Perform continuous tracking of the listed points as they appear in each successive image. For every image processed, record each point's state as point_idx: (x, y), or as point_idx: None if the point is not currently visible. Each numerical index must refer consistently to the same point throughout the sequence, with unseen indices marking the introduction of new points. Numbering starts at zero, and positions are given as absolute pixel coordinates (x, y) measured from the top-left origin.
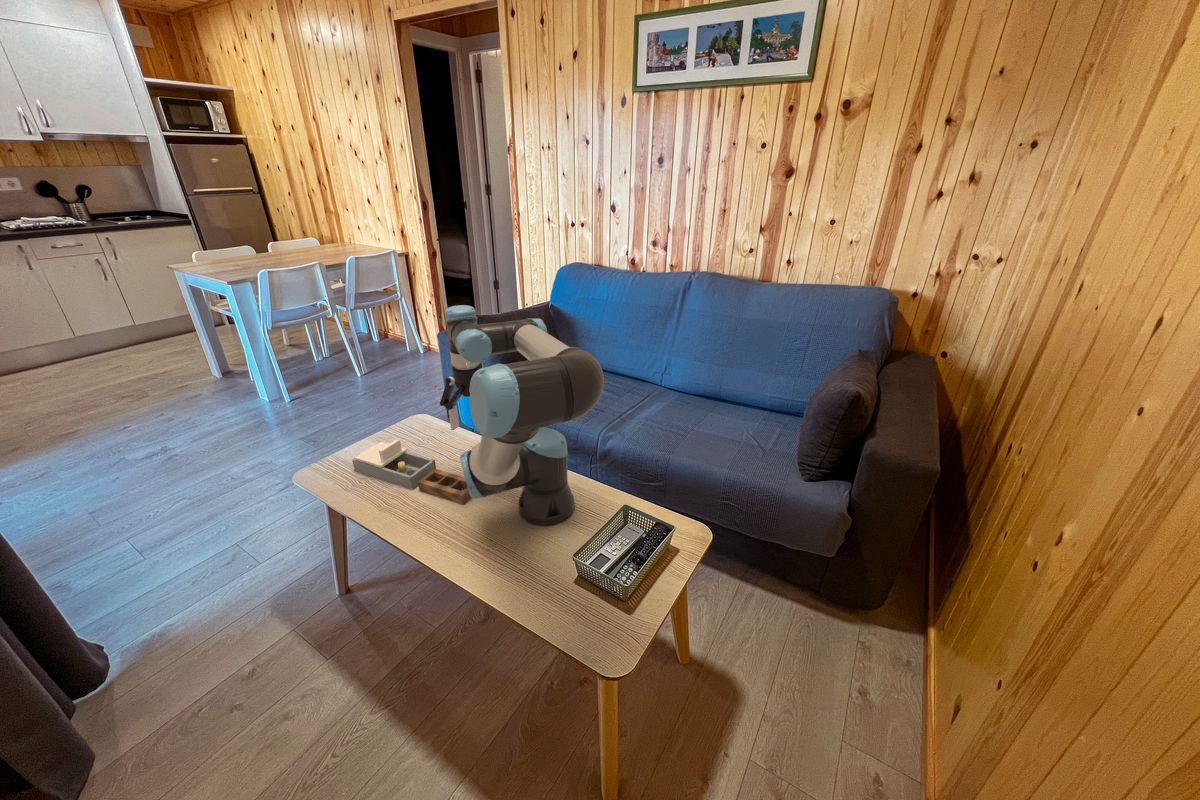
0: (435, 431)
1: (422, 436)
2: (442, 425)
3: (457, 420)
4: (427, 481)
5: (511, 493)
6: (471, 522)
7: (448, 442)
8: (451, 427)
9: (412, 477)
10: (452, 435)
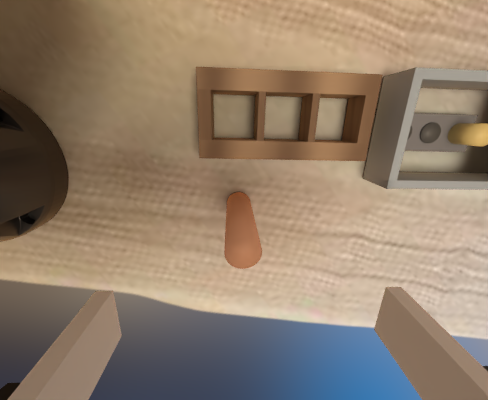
0: (448, 309)
1: (471, 282)
2: None
3: (406, 366)
4: (352, 90)
5: (116, 177)
6: (124, 8)
7: None
8: (409, 300)
9: (410, 77)
10: None
